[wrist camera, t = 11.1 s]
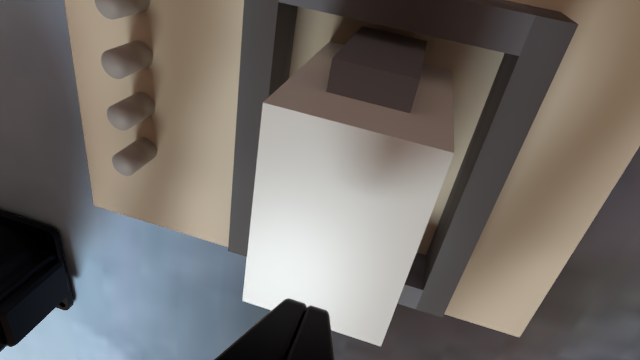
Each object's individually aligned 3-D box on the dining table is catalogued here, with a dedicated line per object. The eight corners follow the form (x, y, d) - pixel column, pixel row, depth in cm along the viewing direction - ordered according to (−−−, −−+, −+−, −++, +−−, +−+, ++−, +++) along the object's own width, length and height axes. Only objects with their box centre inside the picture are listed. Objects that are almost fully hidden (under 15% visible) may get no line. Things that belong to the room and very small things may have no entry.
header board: (114, 189, 22) (62, 229, 19) (76, -154, 14) (-19, -176, 12) (514, 310, 19) (526, 379, 16) (718, -34, 12) (807, -23, 9)
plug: (302, 192, 17) (242, 300, 12) (334, 16, 14) (266, 65, 9) (401, 221, 17) (380, 346, 12) (460, 45, 13) (468, 115, 8)
